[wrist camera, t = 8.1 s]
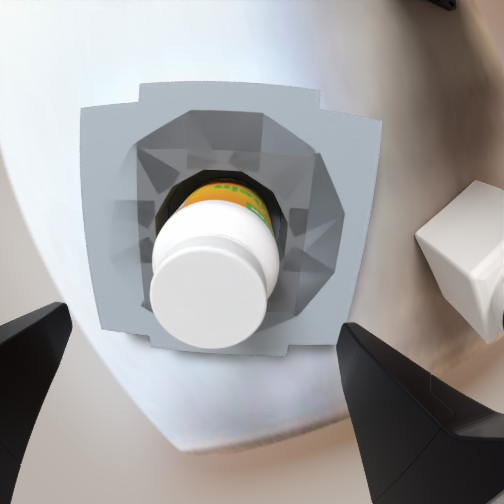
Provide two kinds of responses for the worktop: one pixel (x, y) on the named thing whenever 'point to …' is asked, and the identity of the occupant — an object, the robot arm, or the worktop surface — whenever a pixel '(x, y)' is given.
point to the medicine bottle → (470, 256)
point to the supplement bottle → (215, 266)
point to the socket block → (233, 159)
